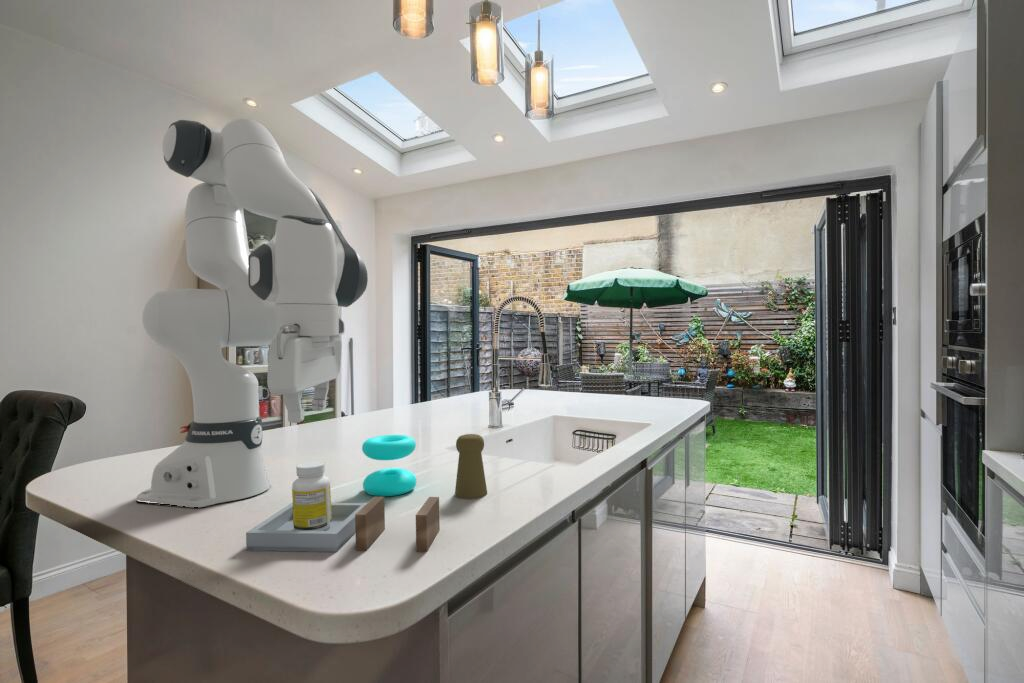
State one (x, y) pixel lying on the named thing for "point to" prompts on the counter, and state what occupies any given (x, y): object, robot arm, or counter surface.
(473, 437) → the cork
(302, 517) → the supplement bottle
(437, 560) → the counter surface
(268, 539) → the grey tray
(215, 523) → the counter surface
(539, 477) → the counter surface
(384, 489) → the donuts
